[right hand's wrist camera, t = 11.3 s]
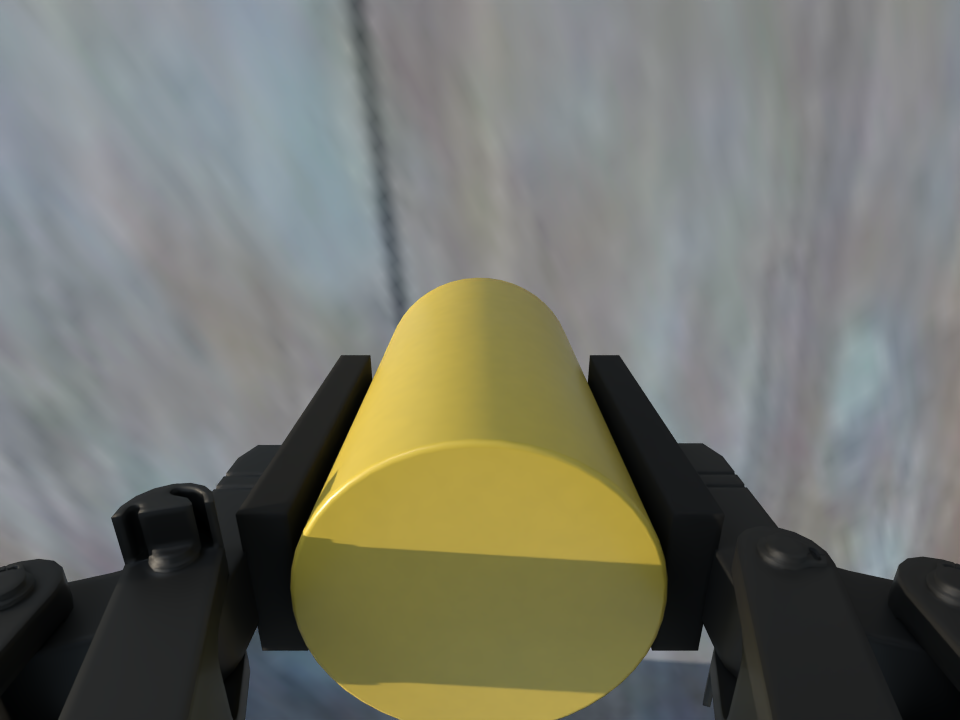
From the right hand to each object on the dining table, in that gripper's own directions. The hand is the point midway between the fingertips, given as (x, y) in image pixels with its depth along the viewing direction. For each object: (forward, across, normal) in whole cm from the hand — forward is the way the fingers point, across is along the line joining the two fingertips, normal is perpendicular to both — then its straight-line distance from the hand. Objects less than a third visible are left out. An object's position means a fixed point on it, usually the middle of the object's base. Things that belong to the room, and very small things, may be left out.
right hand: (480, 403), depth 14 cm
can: (+3, 0, 0) cm, 3 cm away
